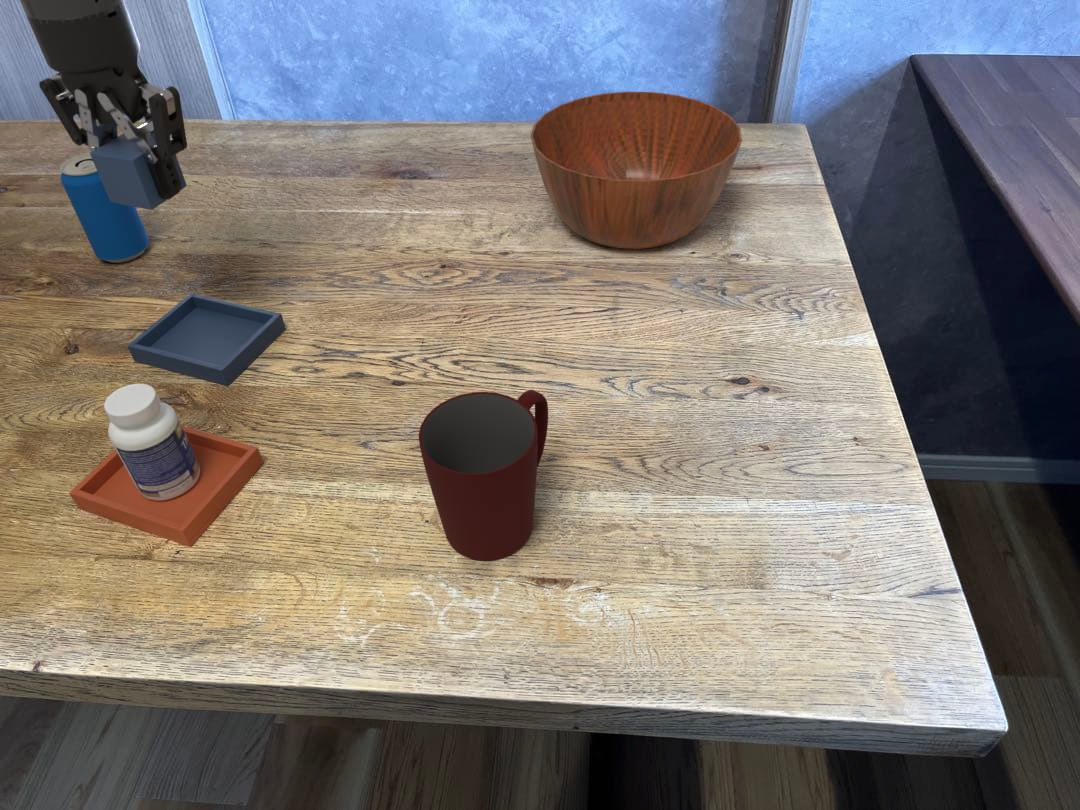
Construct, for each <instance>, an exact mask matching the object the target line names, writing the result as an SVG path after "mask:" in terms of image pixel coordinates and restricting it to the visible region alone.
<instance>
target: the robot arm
mask: <svg viewBox="0 0 1080 810" xmlns="http://www.w3.org/2000/svg"><path fill="white" fill-rule="evenodd" d="M19 3H20V5H21V8H22V10H23V12H24V14H25V16H26V19H27V21H28V24H29V26H30V28H31V30H32V32H33V35H34V37H35V40H36V41H37V44H38V46H39V48H40V51H41V53H42V55H43V58H44V61H45V62H46V64H47V66H48V67H50V69H51V70H53V71H54V72H57V73H55V74H53V75H51V76H49V77H47V78H44V79H42V80H41V81H39V82H38V87H39V88H40V90H41V92H42V93H43V95H44V97H45V99H46V100H47V102H48V103H49V105H50V106H51V108H52V109H53V111H54V113H55V115H56V116H57V118H58V120H59V121H60V122H61V124H62V126H63V127H64V129H65V131H66V132H67V134H68V135H69V137H70V139H71V141H72V142H73V143H74V144H75V145H76V146H82V145H85V146H87V147H88V149H89V150H90V152H92V151H94V150H96V149H97V148H99V147H101V146H102V145H104V144H106V143H108V142H109V141H111V140H113V139H115V138H116V137H118V136H119V135H118V128H119V129H120V131H121V132H122V134H123V133H124V135H125V136H126V138H127V139H128V140H129V141H131V142H135V143H136V145H137V146H138V148H139V149H140V151H141V152H142V154H143V155H144V157H145V158H146V160H147V161H148V163H147V165H148V168H149V171H150V173H151V176H152V178H153V181H154V184H155V186H156V189H157V191H158V194H159V196H160V198H162V199H167V201H168V200H171V199H172V198H174V197H176V196H177V195H178V194H180V192H181V191H182V190H181V181H180V178H179V175H178V174H177V173H178V172H177V170H176V167H175V164H174V161H173V158H172V156H174V155H176V156H177V154H179V153H180V152H183V151H184V150H186V149H187V148H188V141H187V135H186V128H185V121H184V115H183V109H182V101H181V95H180V92H179V90H178V89H177V88H176V87H174V86H172V85H169V86H167V87H166V88H160V87H158V86H155V85H153V84H150V81H149V79H148V78H147V77H146V75H145V74H144V72H143V71H142V70H141V68H140V65H139V57H140V52H141V45H140V41H139V38H138V35H137V33H136V30H135V26H134V25H133V21H132V19H131V15H130V13H129V10H128V8H127V5H126V2H125V0H19ZM75 115H76V116H78V117H79V120H80V127H81V128H80V127H79V126H78V124H77V122H76V121H75V119H74V117H75ZM143 118H144V123H143V124H141V125H140V126H135V125H134V124H136V123H137V122H139V121H141V120H142V119H143ZM147 134H151V136H152V137H153V139H154V140H155V142H156V144H157V145H156V146H154V147H153V146H152V145H151V143H150V142H149V140H148V138H147Z"/></svg>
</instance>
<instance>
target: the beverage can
mask: <svg viewBox="0 0 1080 810" xmlns="http://www.w3.org/2000/svg"><path fill="white" fill-rule="evenodd" d="M59 168H60V172H61V174H60V182H61V184H62V186H63V188H64V190H65V193H66V195H67V197H68V199H69V201H70V203H71V206H72V207H73V210H74V212H75V214H76V217H77V218H78V220H79V221H78V222H79V223H80V225H81V227H82V229H83V232H84V234H85V236H86V238H87V240H88V242H89V244H90V247H91V249H92V251H93V253H94V255H95V257H96V258H98V259H99V260H101V261H106V262H108V263H114V264H115V263H116V264H119V263H126V262H129V261H132V260H135V259H136V258H138V257H140V256H141V255H142V254H143V253H144V252H145V250H146V249H147V248H148V246H149V244H150V239H149V236H148V234H147V231H146V229H145V227H144V225H143V221H142V219H141V217H140V214H139V211H138V208H137V207H133V206H128V205H122V204H117V203H112V202H110V199H109V197H108V195H107V192H106V190H105V188H104V185H103V183H102V181H101V178H100V176H99V174H98V171H97V169H96V167H95V165H94V162H93V160H92V158H91V155H90V152H85V153H82V154H77V155H74V156H72V157H70V158H68V159H66V160H65V161H63V162H62V164H60V166H59Z"/></svg>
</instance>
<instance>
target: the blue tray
mask: <svg viewBox="0 0 1080 810" xmlns="http://www.w3.org/2000/svg"><path fill="white" fill-rule="evenodd" d="M286 329H287V328H286V325H285V321H284V318H283V314H282V313H280V312H276V311H272V310H267V309H263V308H258V307H254V306H249V305H246V304H240V303H237V302H232V301H227V300H223V299H220V298H214V297H211V296H206V295H203V294H202V295H201V294H198V293H193V292H190V293H189V294H188V295H187V296H186V297H185V298H183V299H182V300H181V301H180V302H178V303H177V304H176V305H175V306H174V307H172V308H171V309H170V310H168V312H166V313H165V314H164V315H162V316H161V317H160V318H159V319H158V320H157V321H155V322H154V323H153V324H151V325H150V326H149V327H148V328H147V329H146V330H144V331H143V332H142V333H141V334H139V335H138V336H137V337H136V338H135V339H133V340H132V341H131V342H129V344H127V345H126V347H127V349H128V351H129V354H130V355H131V357H132V360H133V361H134V362H136V363H139V364H143V365H147V366H151V367H154V368H159V369H163V370H166V371H171V372H174V373H177V374H181V375H185V376H187V377H193V378H195V379H199V380H204V381H207V382H211V383H214V384H219V385H221V386H222V385H223V386H226V387H229V386H230V385H231V384H232V383H233V382H234V381H235V380H236V379H237V378H238V377H239V376H241V374H242V373H243V372H244V371H245V370H247V369H248V367H249V366H251V364H252V363H253V362H254V361H255V360H256V359H257V358H258V357H260V356H261V354H262V353H263V352H264V351H265V350H266V349H268V347H269V346H270V345H271V344H273V342H275V341H276V339H277V338H279V337H280V336H281V334H282V333H283V332H285V331H286Z"/></svg>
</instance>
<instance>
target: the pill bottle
mask: <svg viewBox="0 0 1080 810" xmlns="http://www.w3.org/2000/svg"><path fill="white" fill-rule="evenodd" d="M103 407H104V411H105V413H106V415H107V419H108V420H109V425H108V429H107V433H108V437H109V439H110V442H111V444H112V445H113V447H114V450H115V449H116V451H117V453H118V455H119V456H120V458H121V460H122V462H123V463H124V465H125V467H126V469H127V471H128V472H129V474H130V476H131V478H132V480H133V482H134V484H135V486H136V487H137V489H138V490H139V492H140V493H141V494H142V495H143V496H144V497H146V498H147V499H150V500H155V501H163V500H169V499H172V498H175V497H178V496H180V495H182V494H184V493H185V492H187V491H188V490H189V489H190V488H192V487H193V486H194V485H195V483H196V482H197V480H198V478H199V475H200V466H199V464H198V461H197V459H196V457H195V454H194V452H193V450H192V448H191V445H190V443H189V441H188V439H187V436H186V434H185V432H184V430H183V428H182V426H183V425H182V424H181V421H180V420H179V417H178V415H177V413H176V411H175V410H174V408H173V407H172V406H171V405H169V404H168V403H165V402H163V401H161V399H160V397H159V395H158V393H157V392H156V390H155V388H154V387H153V386H151V385H150V384H146V383H132V384H128V385H125V386H122V387H119V388H118V389H116V390H114V391H113V392H111V393H110V395H108V396H107V397H106V399H105V401H104V403H103ZM181 425H182V426H181Z"/></svg>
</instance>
